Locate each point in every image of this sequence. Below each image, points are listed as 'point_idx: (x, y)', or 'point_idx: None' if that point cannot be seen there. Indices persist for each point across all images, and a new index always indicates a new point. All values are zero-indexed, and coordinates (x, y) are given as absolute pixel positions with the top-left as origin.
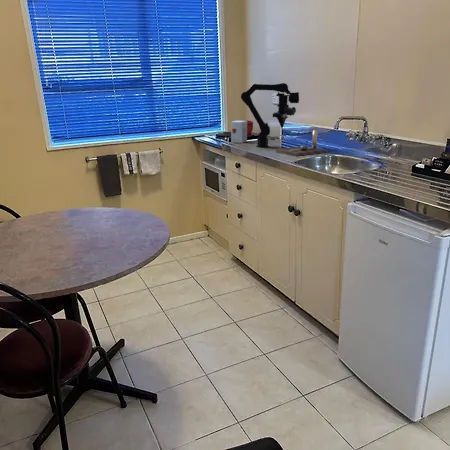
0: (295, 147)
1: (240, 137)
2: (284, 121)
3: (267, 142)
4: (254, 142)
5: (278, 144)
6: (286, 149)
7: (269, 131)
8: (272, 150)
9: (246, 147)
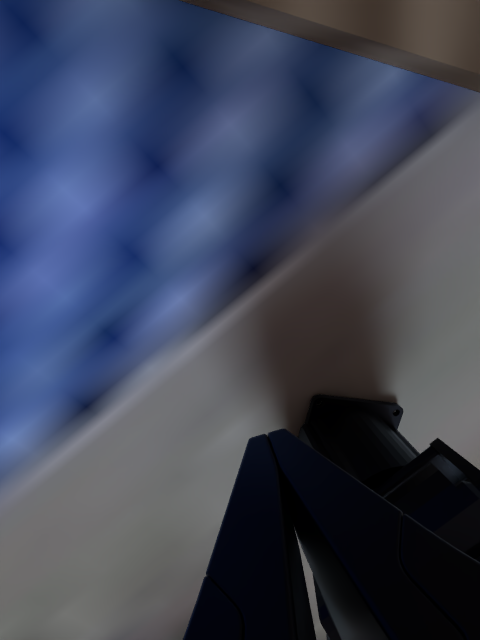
0: (288, 4)
1: None
2: (258, 606)
3: (326, 439)
4: None
5: (111, 440)
6: None
7: (476, 488)
8: (472, 221)
9: None
